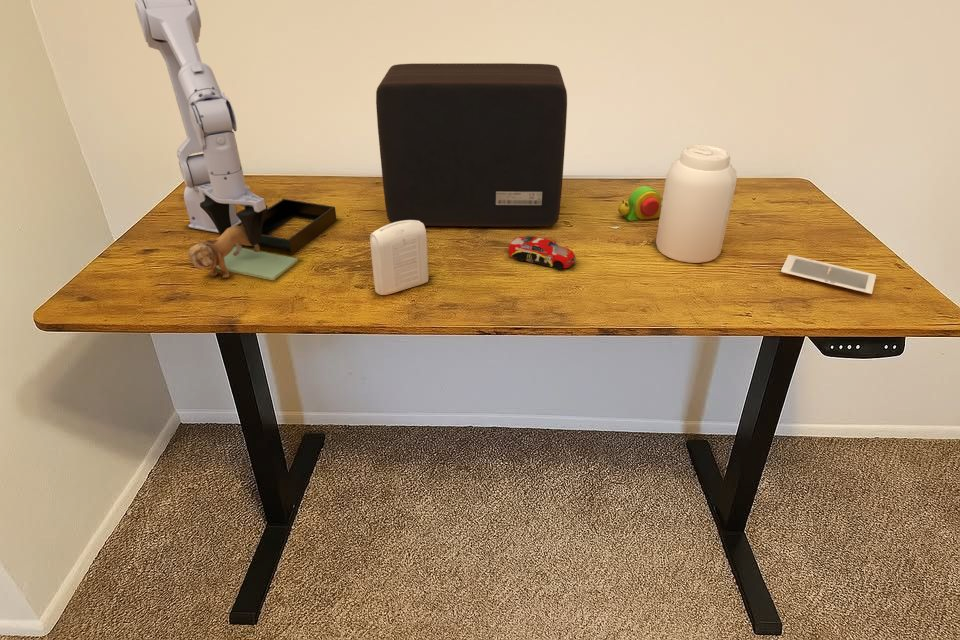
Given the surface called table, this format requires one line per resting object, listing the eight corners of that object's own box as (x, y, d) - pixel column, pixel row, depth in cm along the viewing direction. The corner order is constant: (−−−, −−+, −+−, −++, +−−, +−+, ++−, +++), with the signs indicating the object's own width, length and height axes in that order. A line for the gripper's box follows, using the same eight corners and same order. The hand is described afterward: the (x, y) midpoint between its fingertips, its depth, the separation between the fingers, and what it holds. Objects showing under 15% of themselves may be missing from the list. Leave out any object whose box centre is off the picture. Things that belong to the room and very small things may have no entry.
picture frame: (237, 245, 131) (233, 230, 129) (286, 212, 144) (283, 198, 142) (291, 255, 127) (289, 240, 125) (337, 220, 140) (335, 206, 139)
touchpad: (787, 259, 125) (790, 249, 124) (874, 279, 118) (878, 269, 117) (779, 276, 119) (781, 266, 118) (869, 299, 113) (873, 288, 111)
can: (642, 241, 131) (657, 144, 120) (693, 231, 135) (712, 136, 124) (680, 269, 122) (700, 167, 111) (734, 257, 126) (758, 157, 114)
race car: (579, 261, 125) (580, 242, 123) (569, 273, 121) (570, 254, 119) (516, 246, 130) (517, 228, 128) (505, 258, 126) (505, 239, 124)
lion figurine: (219, 293, 117) (200, 255, 110) (196, 287, 119) (176, 249, 112) (267, 243, 126) (251, 205, 119) (245, 238, 128) (229, 200, 121)
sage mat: (194, 264, 124) (193, 261, 124) (222, 246, 131) (221, 243, 130) (273, 280, 119) (273, 277, 119) (298, 261, 125) (297, 258, 125)
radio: (553, 197, 150) (562, 61, 134) (559, 231, 136) (569, 82, 119) (398, 196, 151) (387, 61, 135) (386, 229, 137) (373, 82, 120)
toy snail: (610, 214, 142) (614, 186, 139) (687, 202, 147) (692, 175, 144) (625, 226, 137) (628, 197, 134) (703, 213, 142) (709, 185, 139)
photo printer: (421, 272, 121) (417, 211, 114) (432, 282, 118) (429, 220, 111) (371, 288, 116) (363, 225, 110) (381, 299, 113) (375, 235, 107)
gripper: (271, 169, 114) (285, 238, 122) (213, 155, 120) (229, 222, 128) (242, 182, 109) (257, 254, 117) (182, 168, 115) (201, 237, 123)
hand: (241, 238), depth 122 cm, fingers open, 7 cm apart
